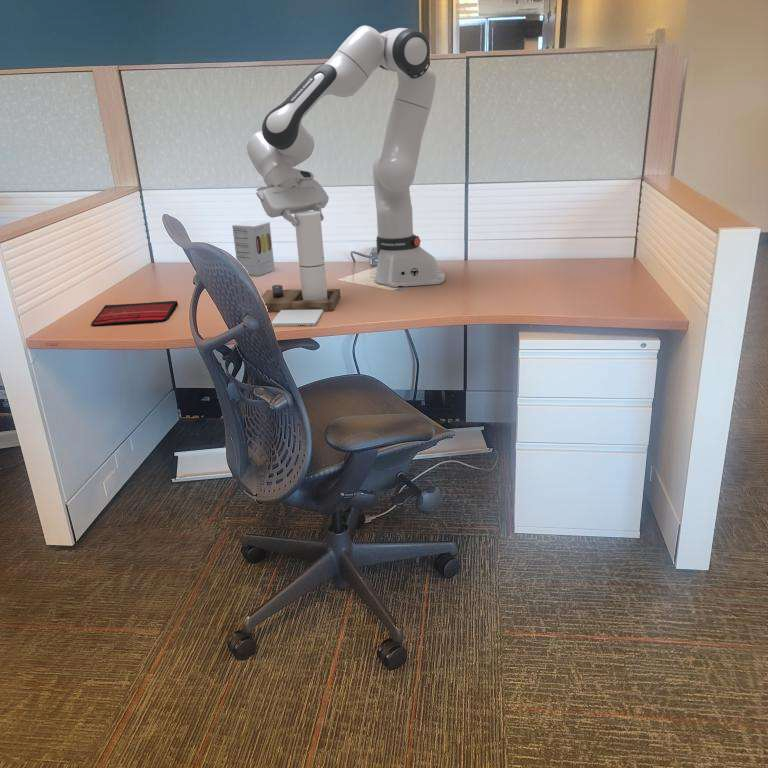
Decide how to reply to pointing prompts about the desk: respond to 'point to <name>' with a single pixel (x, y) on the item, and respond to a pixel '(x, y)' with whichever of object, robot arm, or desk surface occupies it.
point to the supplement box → (254, 247)
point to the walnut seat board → (297, 300)
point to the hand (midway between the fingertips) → (309, 222)
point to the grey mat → (297, 317)
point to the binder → (135, 313)
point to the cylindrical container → (311, 256)
